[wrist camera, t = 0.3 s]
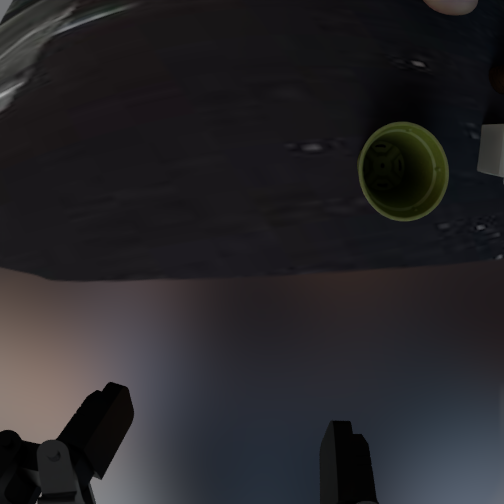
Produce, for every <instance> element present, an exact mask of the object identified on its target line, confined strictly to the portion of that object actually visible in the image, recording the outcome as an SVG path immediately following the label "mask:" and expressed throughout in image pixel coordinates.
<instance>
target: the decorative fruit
mask: <svg viewBox="0 0 504 504" xmlns="http://www.w3.org/2000/svg"><path fill="white" fill-rule="evenodd" d="M423 1H424V2H425V3H426V4H427V5H428V6H429V7H430V8H432V9H433V10H435V11H437V12H440V13H443V14H448V15H464V14H467V13H470V12H471V11H472V10H473V9H474V8H475V7H476V5H477V3H478V0H423Z"/></svg>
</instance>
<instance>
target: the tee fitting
mask: <svg viewBox="0 0 504 504" xmlns="http://www.w3.org/2000/svg"><path fill="white" fill-rule="evenodd" d="M477 171H479V172H482V173H486V174H491V175H496V176H500V177H504V124H488V125H482V131H481V142H480V151H479V159H478V166H477ZM503 184H504V181H503Z"/></svg>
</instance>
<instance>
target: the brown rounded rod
mask: <svg viewBox="0 0 504 504" xmlns="http://www.w3.org/2000/svg"><path fill="white" fill-rule="evenodd" d="M489 80H490V83H491V85H492V87H493V88H494V90H495V91H496V92H498V93H499V94H504V65H500V66H497V67H494V68H492V69H491V70H490V72H489Z"/></svg>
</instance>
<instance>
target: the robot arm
mask: <svg viewBox="0 0 504 504" xmlns="http://www.w3.org/2000/svg"><path fill="white" fill-rule="evenodd" d="M133 418H134V409H133V405H132V401H131V397H130V393H129V389H128V388H127V387H126V386H122V385H119V384H116V383H113V382H109V383H108V384H107V385H106V386H105V388H104V389H103V391H99V390H96V391H95V392H93V393H92V394H90V395H89V396H87V397H86V399H85V400H84V402H83V403H82V404H81V407H79V408H78V410H77V411H76V413H75V414H74V415H73V417H72V418H71V420H70V421H69V422H68V424H67V425H66V427H65V428H64V430H63V431H62V432H61V434H60V435H59V436H58V438H57V439H56V440H48V441H45V442H43V443H42V444H36V443H32V442H27V441H23V440H22V439H21V438H20V437H19V435H18V434H17V433H16V432H14V431H12V430H4V431H1V432H0V504H35V503H36V501H37V500H38V501H37V503H38V504H96V502H95V498H94V495H93V492H92V488H91V484H90V480H91V479H92V477H96V478H98V479H100V480H102V478H103V476H104V474H105V472H106V470H107V468H108V467H109V464H110V462H111V461H112V459H113V457H114V455H115V453H116V452H117V450H118V448H119V446H120V444H121V442H122V440H123V439H124V437H125V435H126V433H127V431H128V429H129V427H130V426H131V424H132V421H133ZM41 492H42V496H41V497H39V495H40V494H41ZM320 504H379V503H378V501H377V498H376V491H375V484H374V477H373V471H372V466H371V458H370V451H369V446H368V443H367V442H366V440H365V438H364V437H363V435H362V434H353V432H352V425H351V422H350V421H330V423H329V426H328V428H327V430H326V433H325V435H324V438H323V440H322V443H321V447H320Z"/></svg>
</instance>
